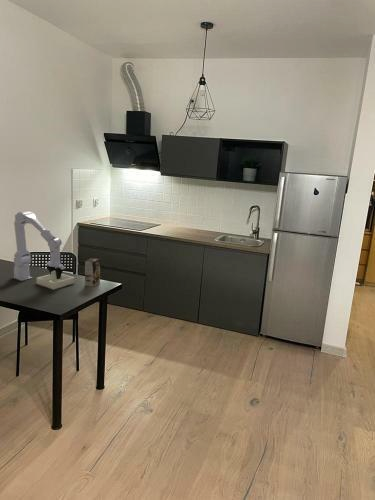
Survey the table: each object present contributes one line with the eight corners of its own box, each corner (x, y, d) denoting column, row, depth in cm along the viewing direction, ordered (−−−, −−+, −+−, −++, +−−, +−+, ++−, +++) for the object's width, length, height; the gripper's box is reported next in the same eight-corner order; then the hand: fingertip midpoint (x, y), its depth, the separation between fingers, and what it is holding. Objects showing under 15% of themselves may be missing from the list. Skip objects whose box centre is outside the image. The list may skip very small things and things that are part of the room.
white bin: (36, 283, 228) (36, 277, 227) (57, 278, 241) (57, 272, 240) (53, 289, 220) (53, 283, 219) (74, 283, 233) (74, 277, 232)
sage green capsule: (49, 280, 229) (49, 271, 227) (56, 278, 233) (56, 269, 231) (54, 282, 226) (53, 273, 225) (61, 280, 230) (60, 271, 229)
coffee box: (94, 286, 229) (94, 262, 225) (84, 285, 230) (84, 261, 226) (100, 282, 238) (100, 258, 234) (91, 281, 239) (91, 257, 235)
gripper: (42, 256, 227) (42, 277, 230) (57, 260, 219) (58, 282, 222) (51, 254, 232) (52, 274, 236) (67, 258, 225) (67, 279, 228)
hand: (55, 278), depth 229 cm, fingers closed on sage green capsule, 5 cm apart
